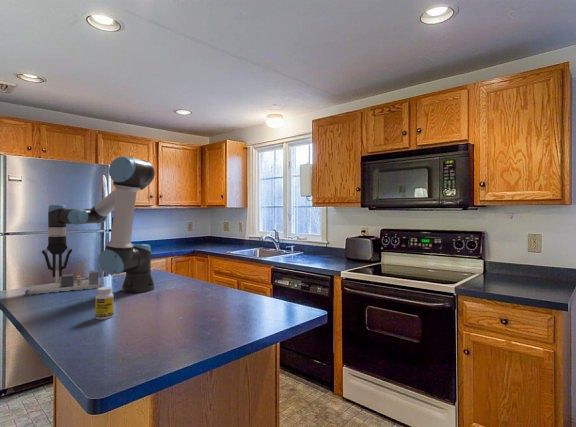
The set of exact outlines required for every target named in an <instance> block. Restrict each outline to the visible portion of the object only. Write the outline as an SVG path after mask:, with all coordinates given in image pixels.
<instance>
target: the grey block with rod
mask: <svg viewBox="0 0 576 427" xmlns="http://www.w3.org/2000/svg"><path fill="white" fill-rule="evenodd" d="M77 280H80V281H85V280H89V276H87V277H80V278H77V277H76V278H75V277H74V274H73V273H72V274H71V273H69V274H62V276H61V277H59V283H60V286H61V287H64V286H73V282H74V281H77Z"/></svg>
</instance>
